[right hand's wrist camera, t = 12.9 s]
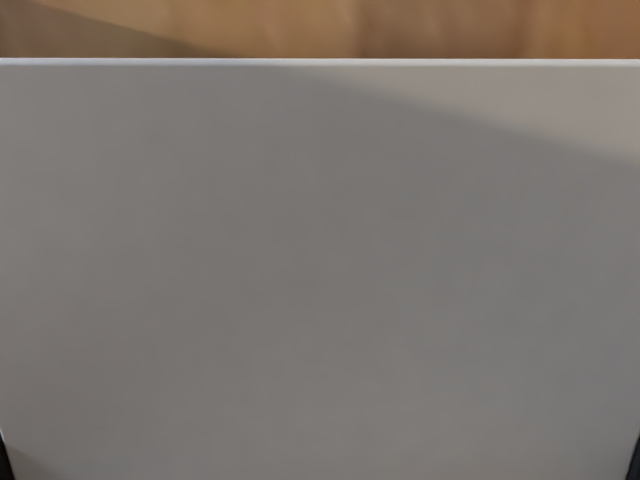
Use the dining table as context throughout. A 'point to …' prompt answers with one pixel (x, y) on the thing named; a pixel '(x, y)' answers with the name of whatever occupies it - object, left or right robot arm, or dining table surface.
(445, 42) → the dining table surface
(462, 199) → the slab
